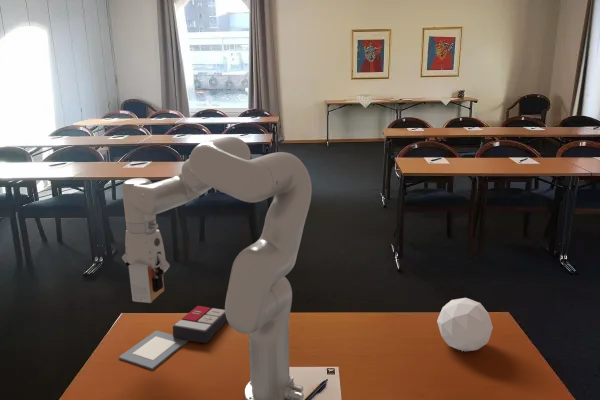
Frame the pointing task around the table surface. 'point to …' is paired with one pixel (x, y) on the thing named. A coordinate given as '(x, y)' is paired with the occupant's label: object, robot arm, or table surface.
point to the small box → (142, 283)
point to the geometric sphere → (465, 324)
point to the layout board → (153, 350)
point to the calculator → (199, 324)
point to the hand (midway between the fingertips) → (148, 286)
